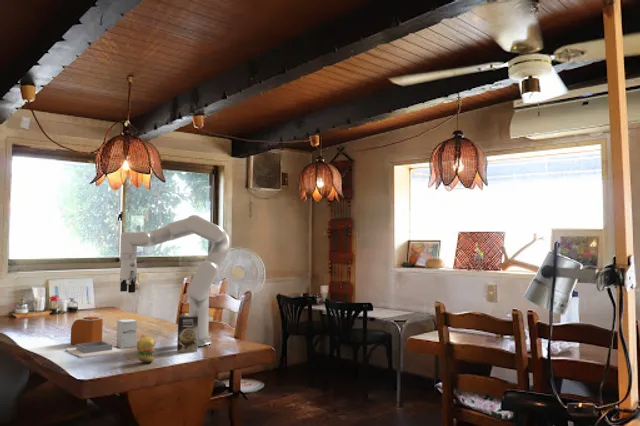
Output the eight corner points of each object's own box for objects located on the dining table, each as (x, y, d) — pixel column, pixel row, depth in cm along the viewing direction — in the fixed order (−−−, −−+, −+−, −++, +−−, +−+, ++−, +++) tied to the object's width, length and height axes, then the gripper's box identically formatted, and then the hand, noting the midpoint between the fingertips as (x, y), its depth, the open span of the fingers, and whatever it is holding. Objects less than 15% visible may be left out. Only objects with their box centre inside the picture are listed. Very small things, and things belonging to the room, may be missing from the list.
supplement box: (121, 348, 246) (121, 321, 247) (116, 346, 251) (116, 320, 252) (136, 346, 250) (137, 320, 251) (131, 344, 256) (131, 318, 257)
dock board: (123, 352, 236) (123, 345, 236) (82, 358, 224) (82, 350, 224) (104, 345, 254) (104, 338, 254) (65, 350, 241) (65, 343, 242)
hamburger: (158, 361, 217) (159, 332, 217) (148, 365, 210) (149, 335, 210) (142, 360, 219) (143, 332, 219) (132, 364, 212) (132, 334, 212)
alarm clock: (104, 344, 257) (105, 316, 258) (89, 347, 249) (89, 318, 250) (85, 341, 264) (86, 315, 265) (70, 344, 257) (71, 317, 258)
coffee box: (177, 353, 235) (177, 317, 236) (177, 350, 241) (177, 315, 242) (197, 351, 237) (198, 316, 238) (197, 349, 243) (197, 314, 245)
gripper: (143, 257, 250) (142, 292, 249) (128, 256, 263) (128, 290, 262) (128, 257, 245) (127, 293, 244) (114, 256, 258) (113, 291, 257)
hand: (127, 292), depth 253 cm, fingers open, 9 cm apart
